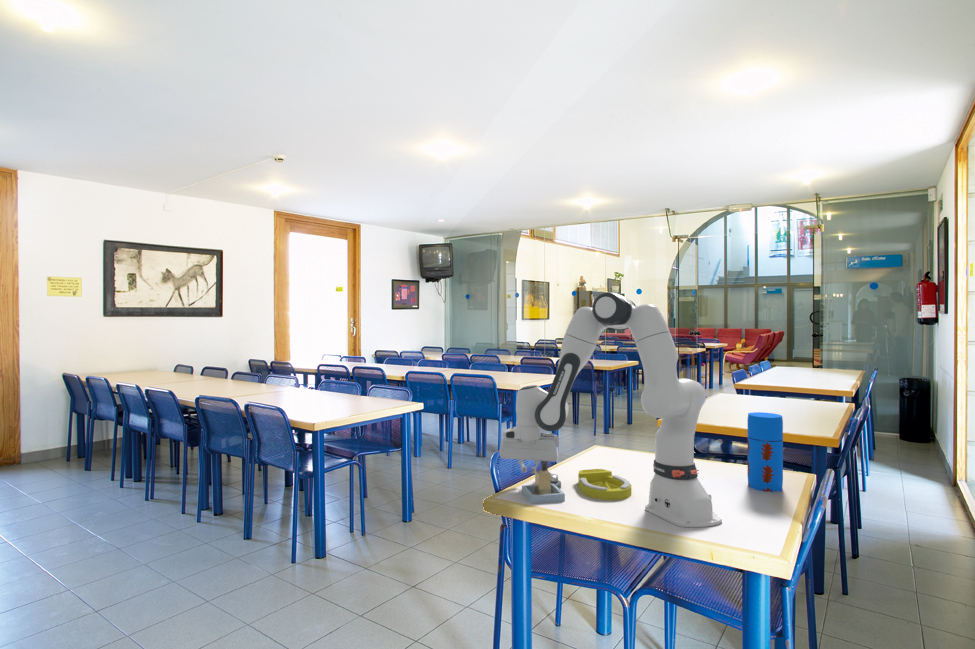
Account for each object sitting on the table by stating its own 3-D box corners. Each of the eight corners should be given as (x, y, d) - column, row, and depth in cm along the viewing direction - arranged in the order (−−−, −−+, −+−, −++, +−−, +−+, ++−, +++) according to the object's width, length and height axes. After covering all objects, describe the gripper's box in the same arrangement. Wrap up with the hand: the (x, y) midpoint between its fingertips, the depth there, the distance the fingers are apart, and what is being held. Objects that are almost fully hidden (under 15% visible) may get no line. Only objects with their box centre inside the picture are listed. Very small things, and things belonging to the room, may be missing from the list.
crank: (560, 482, 181) (559, 466, 181) (547, 483, 180) (547, 467, 180) (549, 473, 192) (549, 458, 192) (537, 474, 191) (537, 459, 191)
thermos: (750, 490, 180) (750, 416, 180) (745, 481, 190) (744, 411, 190) (786, 493, 177) (786, 418, 176) (779, 484, 187) (779, 413, 187)
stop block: (550, 498, 171) (550, 473, 171) (538, 499, 170) (538, 474, 170) (546, 494, 175) (546, 470, 175) (535, 495, 174) (535, 471, 174)
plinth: (563, 491, 180) (563, 484, 180) (519, 494, 177) (519, 487, 177) (557, 485, 186) (557, 478, 186) (514, 488, 183) (514, 481, 183)
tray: (564, 503, 168) (564, 493, 168) (531, 505, 166) (531, 496, 166) (553, 492, 179) (553, 483, 179) (521, 494, 177) (521, 485, 177)
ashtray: (612, 481, 192) (612, 467, 192) (640, 500, 171) (640, 485, 171) (569, 485, 188) (569, 470, 188) (592, 504, 168) (592, 488, 168)
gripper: (560, 432, 185) (560, 471, 185) (502, 429, 190) (502, 468, 190) (557, 435, 179) (557, 477, 179) (498, 432, 184) (498, 473, 184)
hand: (529, 472), depth 185 cm, fingers closed
